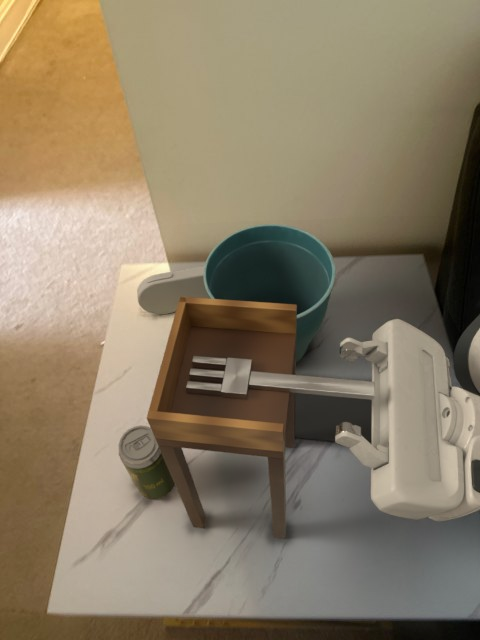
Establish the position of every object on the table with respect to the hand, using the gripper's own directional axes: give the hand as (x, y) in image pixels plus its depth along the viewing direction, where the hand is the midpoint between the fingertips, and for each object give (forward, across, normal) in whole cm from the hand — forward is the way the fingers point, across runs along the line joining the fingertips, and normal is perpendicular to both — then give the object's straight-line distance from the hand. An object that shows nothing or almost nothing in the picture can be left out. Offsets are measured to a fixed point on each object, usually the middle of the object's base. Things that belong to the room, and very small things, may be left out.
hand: (340, 386), depth 54 cm
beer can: (+6, +2, +35) cm, 35 cm away
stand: (-4, 0, +28) cm, 29 cm away
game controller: (+7, -30, +35) cm, 46 cm away
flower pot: (-5, -23, +28) cm, 37 cm away
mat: (-12, -12, +23) cm, 29 cm away
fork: (+5, 0, +3) cm, 6 cm away
